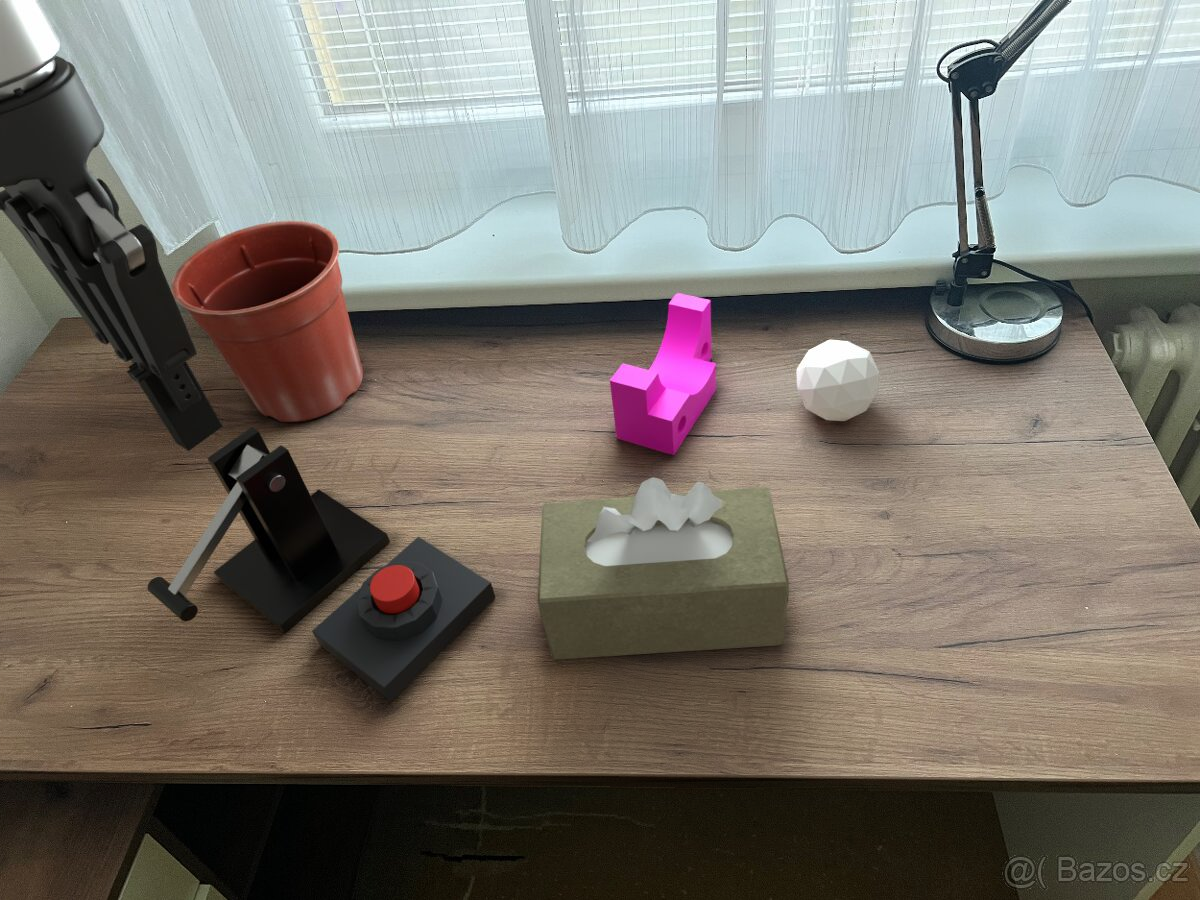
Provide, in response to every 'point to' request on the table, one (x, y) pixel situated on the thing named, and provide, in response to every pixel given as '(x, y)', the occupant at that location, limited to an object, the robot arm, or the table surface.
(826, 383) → the ball
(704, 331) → the toy block
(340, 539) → the bracket
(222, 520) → the lever
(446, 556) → the button block
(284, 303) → the flower pot
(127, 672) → the table surface
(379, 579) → the button
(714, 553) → the tissue box
